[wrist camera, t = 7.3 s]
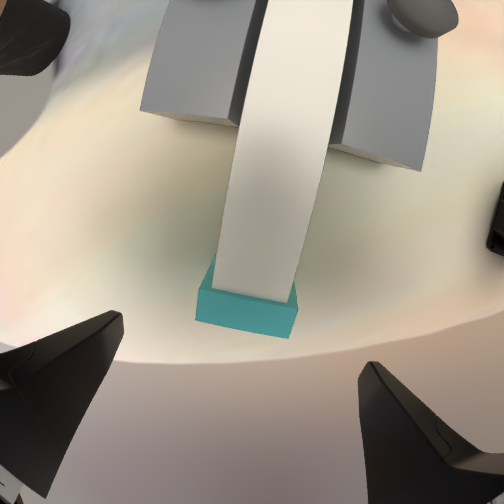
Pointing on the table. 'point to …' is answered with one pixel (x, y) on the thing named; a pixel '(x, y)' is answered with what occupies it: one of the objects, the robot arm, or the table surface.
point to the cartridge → (277, 166)
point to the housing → (351, 86)
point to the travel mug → (30, 35)
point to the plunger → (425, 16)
